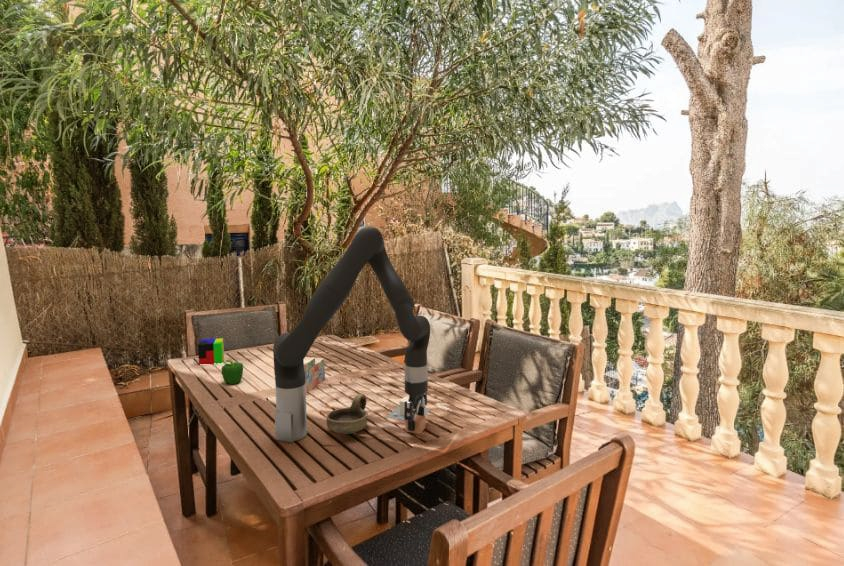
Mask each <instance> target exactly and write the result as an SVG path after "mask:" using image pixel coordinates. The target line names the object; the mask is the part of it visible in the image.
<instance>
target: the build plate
mask: <svg viewBox="0 0 844 566" xmlns="http://www.w3.org/2000/svg"><path fill="white" fill-rule="evenodd" d="M430 411H431V409H430V408H425V409H424V416H427V414H428V413H429V412H430ZM416 415H417V414H416ZM386 418H389V419H393V420H394V419H395V420H399V421H405V422H406V420H404V415H400V404H399V405H398V406H397V407H395V408H394V409H393V410H392V411H391V412H390V413H389V414H388V415H387V416H386Z"/></svg>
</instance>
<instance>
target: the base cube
mask: <svg viewBox="0 0 844 566" xmlns="http://www.w3.org/2000/svg"><path fill="white" fill-rule="evenodd" d="M408 399H409V396H407V395H406V396H404V397H402V398H401V400H400V401H399V405H400V415H404V411H405V401H407V402H408ZM413 410H415V409H413ZM407 414H408V413H407Z"/></svg>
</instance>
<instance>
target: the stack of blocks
mask: <svg viewBox="0 0 844 566" xmlns="http://www.w3.org/2000/svg"><path fill="white" fill-rule="evenodd" d="M303 360H304V371H305V378H306V394H307V393H309V392H310V391H311V390H313V389H314V388H315V387H316V386H317V385H319V384H320V383H321V382H322V381H324V380H325V379H326V375H325V373H326V372H325V371H326V369H325V358H321V357H309V356H308V357H307V356H305V358H304V359H303ZM323 379H324V380H323Z"/></svg>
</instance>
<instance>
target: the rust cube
mask: <svg viewBox="0 0 844 566" xmlns="http://www.w3.org/2000/svg"><path fill="white" fill-rule="evenodd" d="M426 417H427V415H425V416H420V415H416V416H415V430H414V431H409V430H408V420H406V421H405V432H407V433H412V434H418V435H421V433H423V431H424V430H425V428H426Z"/></svg>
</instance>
